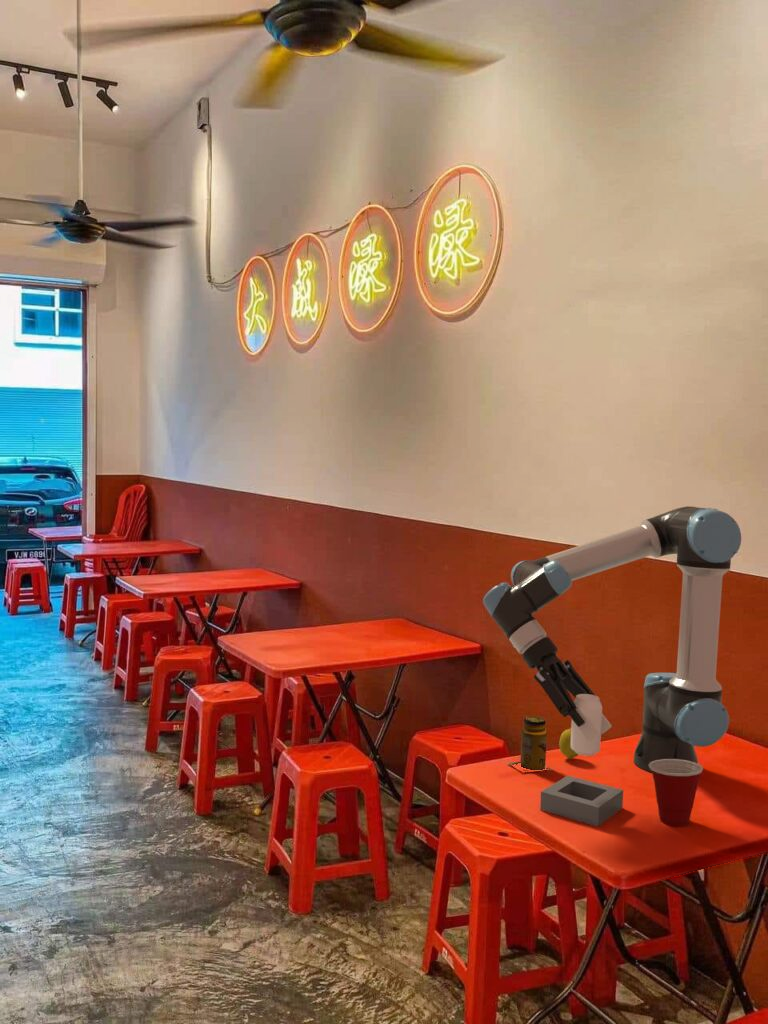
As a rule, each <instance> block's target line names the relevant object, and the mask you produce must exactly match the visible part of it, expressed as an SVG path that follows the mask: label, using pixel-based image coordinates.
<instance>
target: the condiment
mask: <svg viewBox="0 0 768 1024" xmlns="http://www.w3.org/2000/svg"><path fill="white" fill-rule="evenodd" d="M546 723H547V722H546V719H545V718H543V717H541V716H535V715H532V716H530V715H529V716H525V717H524V718H523V725H522V726H523V727H522V729H521V735H520V736H521V740H520V741H521V742H520V761H517V762H516V761H514V762H507V763H506V764H507V765H508V766H510V765H514V764H516V765H517V764H518V763H521V767H523V768H526V769H530V770H543V769H545V767H547V768H546V769H549V770H548V771H552V770H553V768H551V767H548V766H547V765H546V757H547V736H548V734H547V733H548V731H547V730H546ZM509 764H510V765H509Z"/></svg>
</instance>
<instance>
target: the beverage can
mask: <svg viewBox="0 0 768 1024" xmlns="http://www.w3.org/2000/svg"><path fill="white" fill-rule="evenodd" d="M573 702H574V704H575V706H576V709H578V708H580V709H581V711H582V712H583V713H584V714H585V715H586V717H587V718H588V719H589V721H590V722H591V723H592V725H593V726H594V727H595V729H596V730H597V731H598V733H599V734H598V735H597V736H595V737H594V738H593V739H592V740H590V741H588V740H587V739H586V737H585V736H584V735H583V733H582V732H581V731H580V729H579V728H578V727H577V725H576V724H575V723H574V721H573V720H572V719H571V725H570V728H571V749H572V750H574V751H575V752H576V753H577V754H578V755H579V756H586V757H589V756H594V755H596V754H597V753H599V752H600V751H601V740H602V737H601V736H602V733H601V723H602V714H603V705H602V703H601V700H600V697H599V696H597V695H596V694H595V695H591V694H579V695H576V698H574V699H573Z"/></svg>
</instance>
